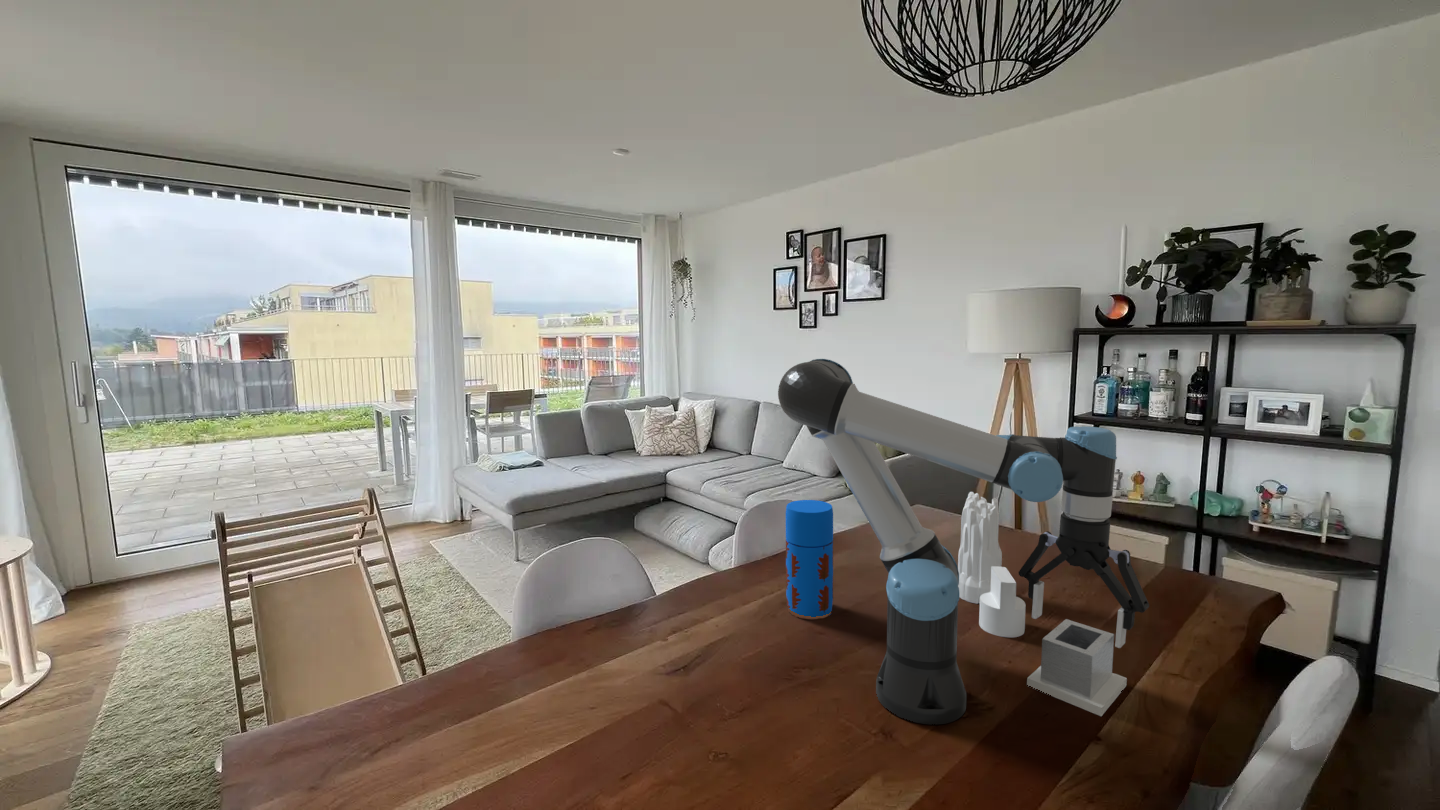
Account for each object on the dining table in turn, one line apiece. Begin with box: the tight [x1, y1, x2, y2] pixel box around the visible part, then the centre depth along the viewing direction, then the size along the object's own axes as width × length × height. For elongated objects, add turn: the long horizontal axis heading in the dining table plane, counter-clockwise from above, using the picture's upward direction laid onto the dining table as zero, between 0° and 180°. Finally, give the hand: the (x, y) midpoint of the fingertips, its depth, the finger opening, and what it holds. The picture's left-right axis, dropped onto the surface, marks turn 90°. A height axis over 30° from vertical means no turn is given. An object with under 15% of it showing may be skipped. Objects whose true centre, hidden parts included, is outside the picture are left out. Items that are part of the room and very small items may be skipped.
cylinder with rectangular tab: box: [978, 566, 1026, 638], centre depth 131 cm, size 9×9×12 cm
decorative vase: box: [957, 491, 1003, 605], centre depth 146 cm, size 11×11×25 cm
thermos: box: [785, 499, 834, 617], centre depth 140 cm, size 11×11×25 cm
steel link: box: [1040, 618, 1115, 700], centre depth 109 cm, size 11×8×8 cm
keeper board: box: [1026, 665, 1128, 717], centre depth 109 cm, size 13×12×7 cm
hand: (1076, 630), depth 108 cm, fingers open, 13 cm apart
